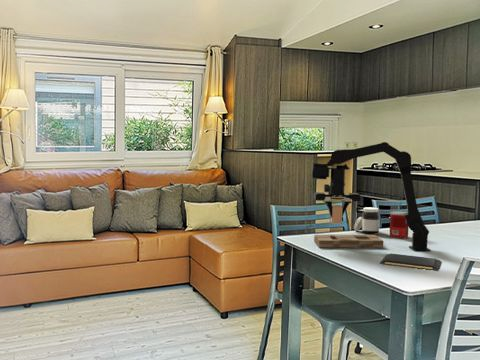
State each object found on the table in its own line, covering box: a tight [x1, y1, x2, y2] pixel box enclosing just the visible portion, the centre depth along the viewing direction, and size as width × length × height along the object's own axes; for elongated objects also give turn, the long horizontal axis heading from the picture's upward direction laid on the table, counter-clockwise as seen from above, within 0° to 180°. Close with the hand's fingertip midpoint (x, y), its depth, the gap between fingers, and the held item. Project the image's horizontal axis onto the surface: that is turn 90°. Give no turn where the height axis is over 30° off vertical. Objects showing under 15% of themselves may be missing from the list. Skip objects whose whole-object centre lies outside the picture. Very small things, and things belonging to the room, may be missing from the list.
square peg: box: [329, 204, 343, 224], centre depth 198 cm, size 4×4×7 cm
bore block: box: [313, 234, 384, 249], centre depth 197 cm, size 12×26×3 cm, turn 91°
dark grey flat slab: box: [378, 252, 443, 272], centre depth 170 cm, size 20×2×15 cm
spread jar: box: [353, 206, 380, 235], centre depth 223 cm, size 12×11×12 cm
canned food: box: [389, 210, 410, 239], centre depth 213 cm, size 8×8×11 cm
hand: (336, 217), depth 198 cm, fingers closed on square peg, 4 cm apart
